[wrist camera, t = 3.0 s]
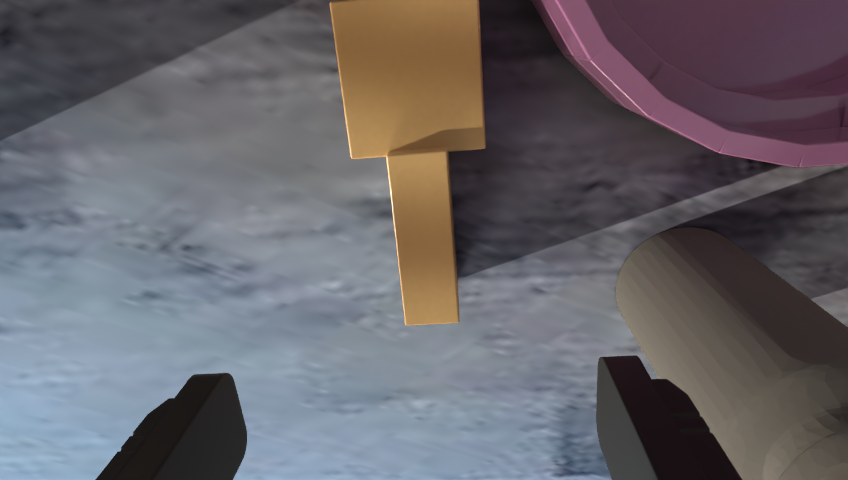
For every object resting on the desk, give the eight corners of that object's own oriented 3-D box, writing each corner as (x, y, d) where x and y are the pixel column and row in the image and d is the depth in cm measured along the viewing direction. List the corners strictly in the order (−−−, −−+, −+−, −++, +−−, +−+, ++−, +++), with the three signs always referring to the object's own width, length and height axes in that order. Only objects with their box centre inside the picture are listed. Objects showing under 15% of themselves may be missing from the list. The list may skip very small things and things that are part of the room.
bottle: (707, 199, 24) (1088, 448, 10) (766, 297, 25) (1166, 634, 11) (590, 272, 25) (770, 579, 11) (652, 360, 27) (880, 727, 13)
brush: (487, 278, 25) (494, 321, 22) (381, 284, 26) (370, 328, 22) (473, -8, 21) (479, -15, 17) (346, 5, 21) (324, 0, 18)
